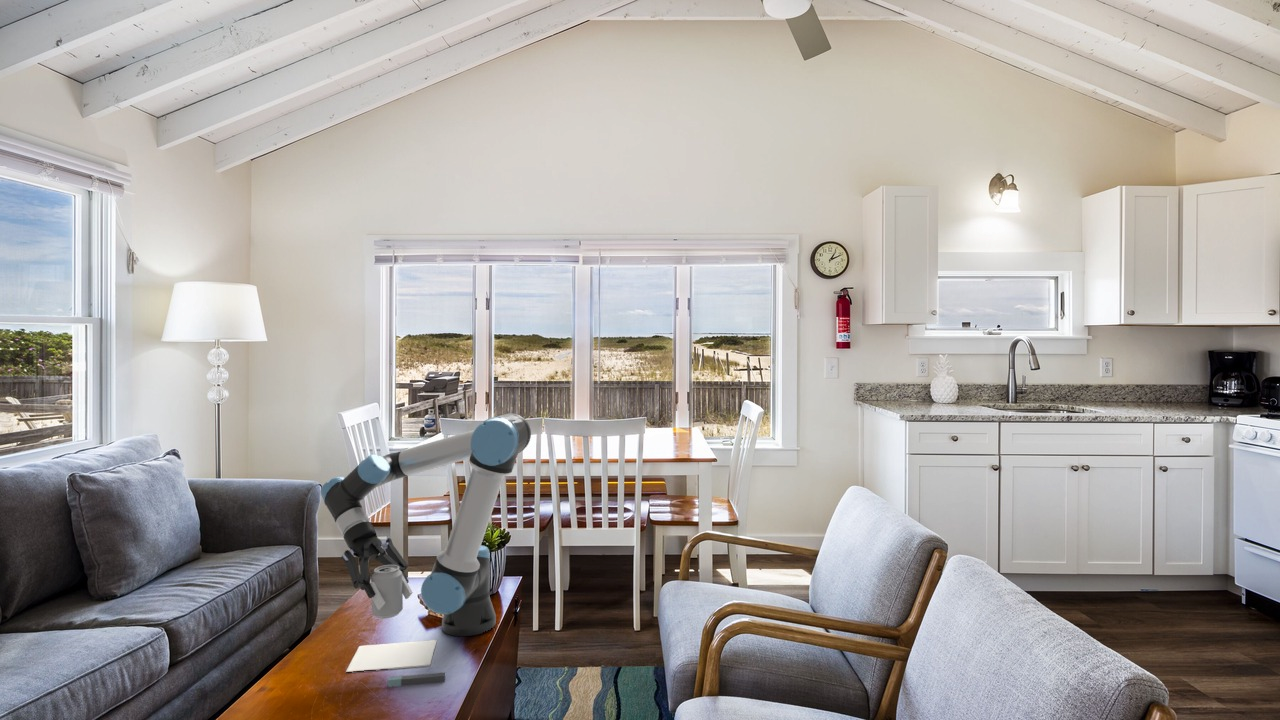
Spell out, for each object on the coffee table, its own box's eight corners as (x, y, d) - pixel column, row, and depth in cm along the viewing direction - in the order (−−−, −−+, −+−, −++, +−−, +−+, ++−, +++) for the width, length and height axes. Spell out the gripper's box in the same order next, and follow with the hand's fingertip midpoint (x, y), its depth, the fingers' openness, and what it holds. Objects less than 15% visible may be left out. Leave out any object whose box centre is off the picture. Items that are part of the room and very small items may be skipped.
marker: (445, 678, 161) (445, 671, 161) (444, 682, 160) (444, 675, 159) (389, 683, 159) (389, 676, 159) (387, 687, 157) (387, 680, 157)
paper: (436, 641, 181) (436, 639, 181) (429, 666, 167) (429, 664, 167) (359, 647, 178) (359, 645, 178) (346, 673, 164) (346, 671, 164)
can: (392, 605, 176) (391, 561, 176) (408, 612, 171) (407, 566, 171) (366, 615, 170) (365, 568, 170) (381, 622, 165) (380, 575, 165)
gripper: (383, 528, 187) (422, 596, 179) (314, 547, 170) (353, 623, 162) (395, 512, 184) (434, 580, 175) (326, 529, 167) (366, 606, 159)
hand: (395, 601), depth 169 cm, fingers closed on can, 7 cm apart
